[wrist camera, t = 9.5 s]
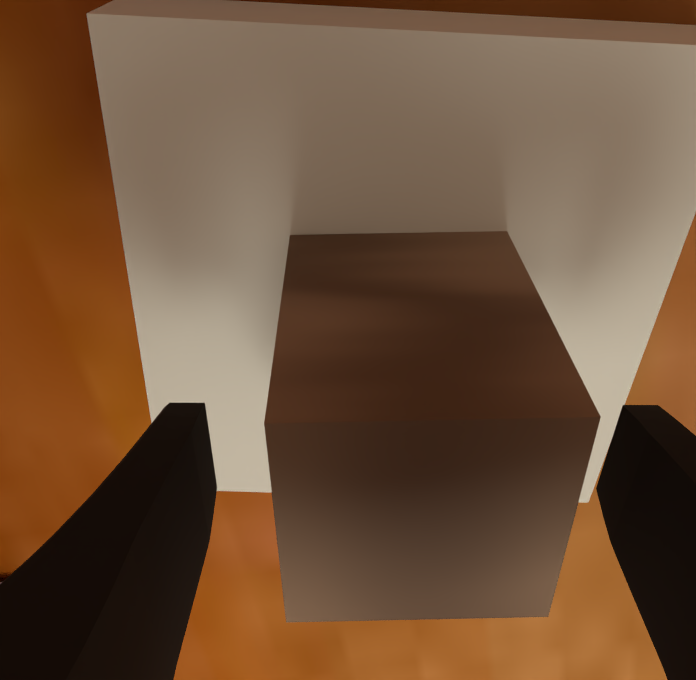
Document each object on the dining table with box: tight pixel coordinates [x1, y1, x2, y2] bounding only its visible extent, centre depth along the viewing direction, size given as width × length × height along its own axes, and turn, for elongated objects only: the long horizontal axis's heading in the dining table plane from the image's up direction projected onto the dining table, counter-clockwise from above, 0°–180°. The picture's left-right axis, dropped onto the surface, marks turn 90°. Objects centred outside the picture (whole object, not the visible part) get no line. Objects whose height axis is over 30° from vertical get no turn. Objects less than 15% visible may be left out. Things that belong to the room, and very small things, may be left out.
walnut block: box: [264, 231, 601, 622], centre depth 13 cm, size 5×5×6 cm
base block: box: [86, 0, 696, 503], centre depth 16 cm, size 12×12×3 cm
